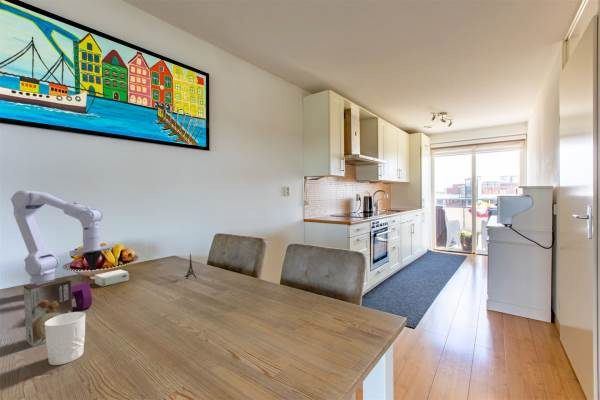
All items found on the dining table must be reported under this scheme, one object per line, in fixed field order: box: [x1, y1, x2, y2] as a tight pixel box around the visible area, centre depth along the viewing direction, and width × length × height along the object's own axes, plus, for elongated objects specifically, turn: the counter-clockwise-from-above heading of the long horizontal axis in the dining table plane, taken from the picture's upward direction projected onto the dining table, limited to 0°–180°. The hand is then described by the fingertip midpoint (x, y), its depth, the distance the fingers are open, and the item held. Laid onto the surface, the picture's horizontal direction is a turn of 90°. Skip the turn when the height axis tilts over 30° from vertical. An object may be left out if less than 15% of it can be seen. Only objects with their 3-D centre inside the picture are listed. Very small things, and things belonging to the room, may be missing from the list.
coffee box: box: [23, 277, 73, 348], centre depth 79 cm, size 9×6×16 cm
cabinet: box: [94, 269, 129, 287], centre depth 131 cm, size 8×11×4 cm
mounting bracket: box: [71, 281, 93, 311], centre depth 99 cm, size 9×8×18 cm
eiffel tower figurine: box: [184, 251, 197, 279], centre depth 135 cm, size 15×10×13 cm
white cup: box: [44, 311, 86, 366], centre depth 69 cm, size 8×8×10 cm
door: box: [101, 272, 130, 288], centre depth 127 cm, size 1×11×4 cm, turn 144°
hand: (92, 269), depth 115 cm, fingers closed
